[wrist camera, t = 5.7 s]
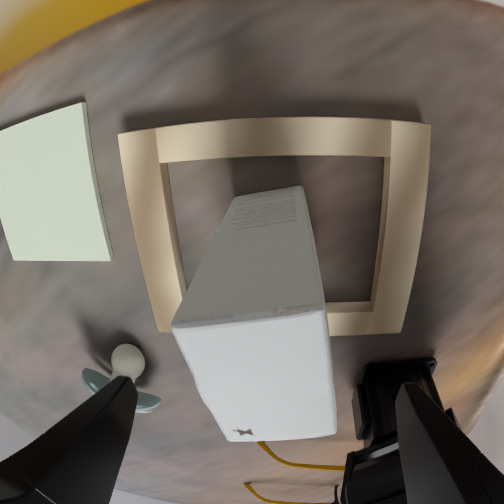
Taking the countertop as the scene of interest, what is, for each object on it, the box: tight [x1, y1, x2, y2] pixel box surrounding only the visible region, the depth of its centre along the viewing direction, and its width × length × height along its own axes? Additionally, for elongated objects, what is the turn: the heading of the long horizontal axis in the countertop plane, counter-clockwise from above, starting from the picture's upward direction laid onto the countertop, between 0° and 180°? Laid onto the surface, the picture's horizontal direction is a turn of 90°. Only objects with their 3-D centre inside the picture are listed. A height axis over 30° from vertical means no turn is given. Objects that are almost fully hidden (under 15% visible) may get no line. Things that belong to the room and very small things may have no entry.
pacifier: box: [82, 344, 161, 413], centre depth 25 cm, size 7×6×6 cm
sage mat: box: [0, 102, 114, 261], centre depth 20 cm, size 11×11×1 cm
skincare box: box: [171, 186, 337, 442], centre depth 14 cm, size 6×4×12 cm
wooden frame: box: [118, 116, 431, 336], centre depth 19 cm, size 17×14×1 cm
